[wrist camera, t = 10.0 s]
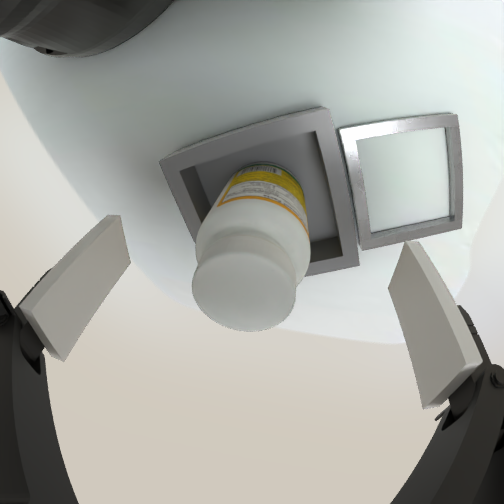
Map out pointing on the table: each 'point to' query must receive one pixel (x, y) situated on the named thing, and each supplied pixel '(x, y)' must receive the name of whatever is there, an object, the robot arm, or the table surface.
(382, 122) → the socket collar
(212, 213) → the supplement bottle
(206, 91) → the table surface
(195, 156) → the bin
